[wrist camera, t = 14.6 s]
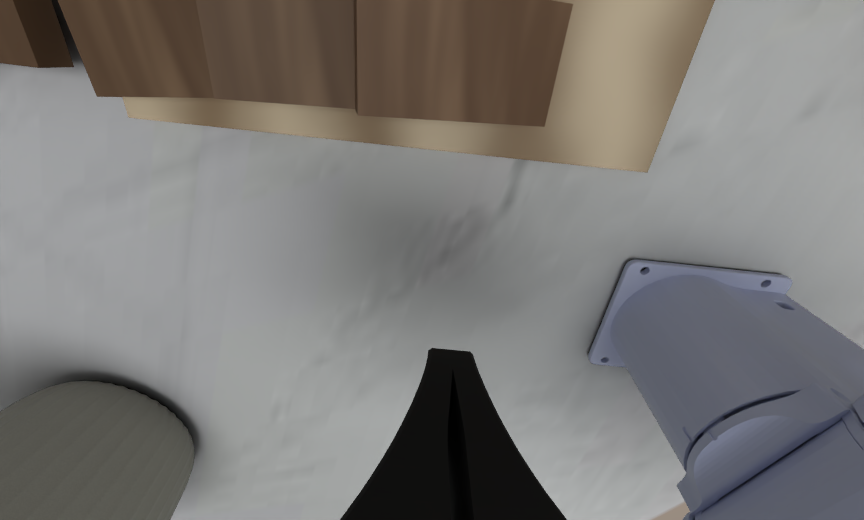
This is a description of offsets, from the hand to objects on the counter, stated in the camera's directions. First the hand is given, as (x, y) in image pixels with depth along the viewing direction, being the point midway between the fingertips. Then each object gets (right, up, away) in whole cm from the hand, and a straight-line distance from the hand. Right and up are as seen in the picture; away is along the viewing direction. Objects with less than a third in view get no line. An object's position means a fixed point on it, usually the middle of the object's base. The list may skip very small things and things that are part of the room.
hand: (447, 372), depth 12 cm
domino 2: (-1, +12, +4) cm, 13 cm away
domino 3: (-7, +13, +4) cm, 15 cm away
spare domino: (+4, +12, +4) cm, 13 cm away
